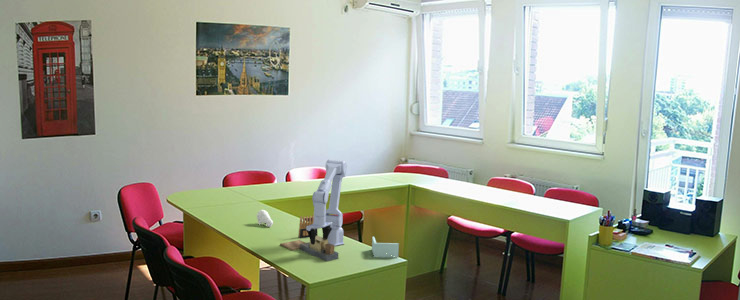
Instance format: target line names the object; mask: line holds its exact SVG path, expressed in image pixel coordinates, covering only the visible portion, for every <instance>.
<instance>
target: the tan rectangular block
mask: <svg viewBox="0 0 740 300" xmlns="http://www.w3.org/2000/svg"><path fill="white" fill-rule="evenodd" d="M309 242H310V247H311V248H313V249H316V250H318V251H322V249H325V244H328V240H327V239H325V238H323V236H319V235H317V236H316V237H315V244H314V245H313V244H311V241H310V240H309Z"/></svg>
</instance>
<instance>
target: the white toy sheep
mask: <svg viewBox="0 0 740 300" xmlns="http://www.w3.org/2000/svg"><path fill="white" fill-rule="evenodd" d="M256 218H257V222H258V224H259V225H258V226H260V224H261V225H262V224H264V223H266V224H265V226H266V227H269V228H271V227H272V226H273V224H274V221H273V220H272V218H271V216H270V214H269V212H268V211H267V210H265V209H260V210H258V212H257V214H256Z"/></svg>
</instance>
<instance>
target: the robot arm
mask: <svg viewBox="0 0 740 300" xmlns="http://www.w3.org/2000/svg"><path fill="white" fill-rule="evenodd" d="M347 166H348V165H347V162H346V161H345V160H338V159H337V160H336V159H335V160H334V159H327V160H326V162H325V172H326V173H325V176H324V179H322V180H321V181H320V182H319V186H318V187H317V189H316V190H315V191H313V193H312V197H311V198H312V205H313V209H314V210H313V216H314V223H313V224H312V225H309V226H307V227H306V230H307V233H308V235H309V237H308V238H309V242H310V241H311V244H313V245H314V244H315V237H316V233H317V234H318V229H321V231H322V238H325V239H327V240H328V243H330V244H332V245H334V247H336V246H340V245H344V244H345V242H344V232H345V231H344V229H343V228H342V226H343V219H344V218H343V216H344V214H343V212H341V210H339V204H340V199H341V197H340V195H341V190H342V189H341V188H342V183H343V178H345V177H346V175H347ZM329 193H330V194H329ZM329 195H330V198H329ZM328 200H329V201H328ZM328 202H329V205H328V208H327V203H328ZM314 229H317V231H315V230H314Z"/></svg>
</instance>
